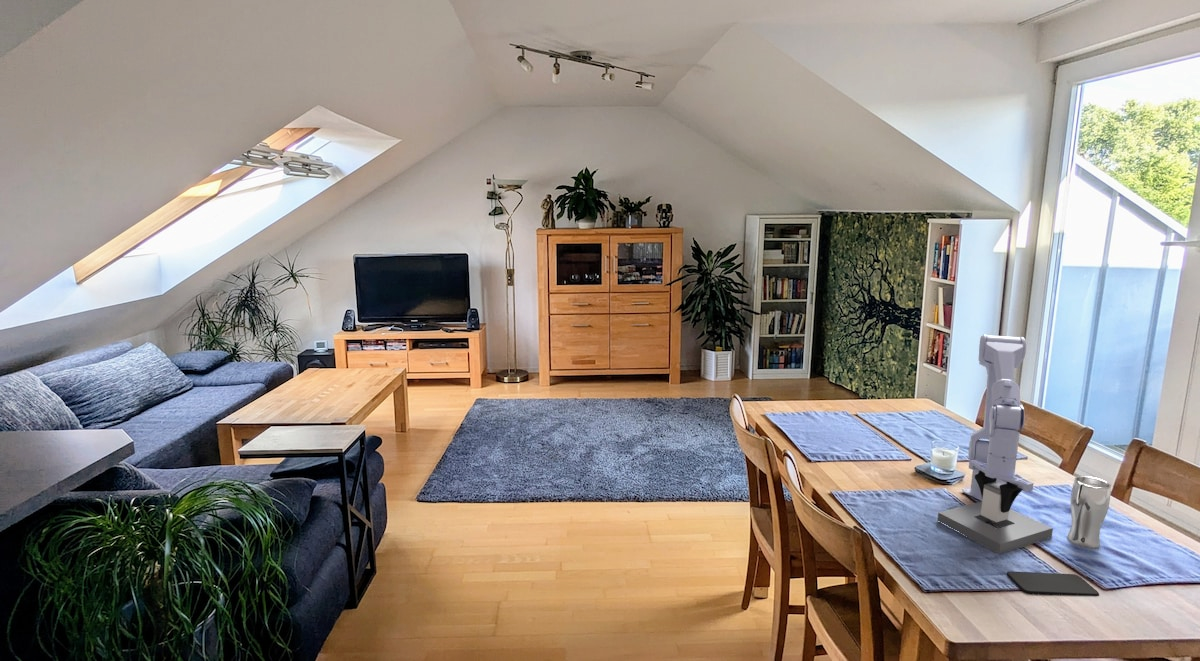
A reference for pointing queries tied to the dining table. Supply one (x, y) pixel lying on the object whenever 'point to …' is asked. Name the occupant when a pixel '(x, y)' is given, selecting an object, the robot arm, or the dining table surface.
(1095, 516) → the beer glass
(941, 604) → the dining table surface
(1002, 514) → the plug
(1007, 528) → the socket
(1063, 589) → the smartphone
